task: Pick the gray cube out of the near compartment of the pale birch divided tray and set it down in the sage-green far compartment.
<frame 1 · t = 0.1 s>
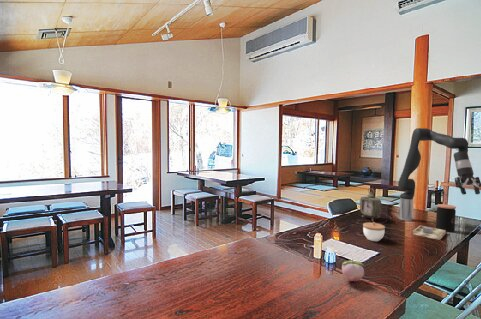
hand: (471, 194, 164), 31 cm above the table, tool tilted 20°, fingers open, 8 cm apart
tabletop clock: (370, 219, 223), on the table
coffee jar: (444, 231, 194), on the table
tray: (429, 234, 185), on the table
gray cube: (427, 235, 182), point 1 cm above the table, touching tray
decorative fruit: (351, 281, 122), on the table
lidded bowl: (373, 239, 175), on the table
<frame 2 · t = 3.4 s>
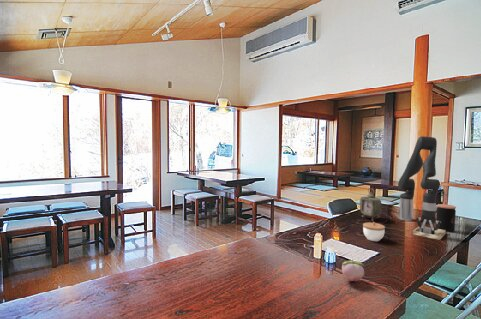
hand: (427, 234, 182), 1 cm above the table, tool pointing down, fingers closed on gray cube, 4 cm apart
gray cube: (427, 235, 182), point 1 cm above the table, touching gripper, tray
everything else where it was.
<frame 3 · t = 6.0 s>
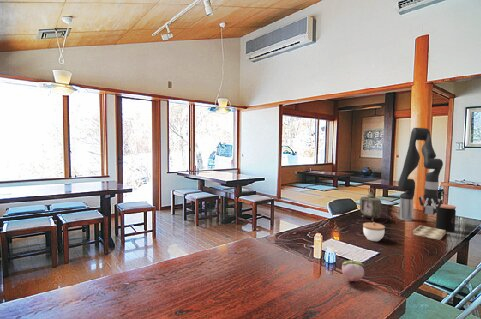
hand: (429, 212, 186), 15 cm above the table, tool pointing down, fingers closed on gray cube, 4 cm apart
gray cube: (429, 213, 186), point 14 cm above the table, touching gripper
everything else where it was.
when the fingers open (3 cm above the table, at t = 8.4 s): gray cube drops 1 cm, resting on tray.
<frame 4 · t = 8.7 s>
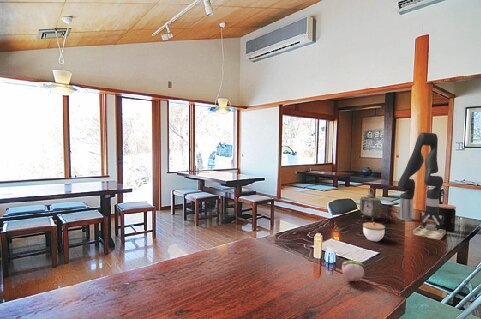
hand: (430, 228, 188), 3 cm above the table, tool pointing down, fingers open, 7 cm apart
gray cube: (430, 232, 188), point 1 cm above the table, touching tray
everything else where it was.
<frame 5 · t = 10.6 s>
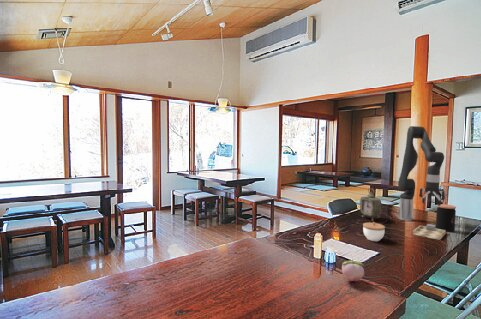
hand: (431, 204, 188), 20 cm above the table, tool pointing down, fingers open, 8 cm apart
nothing on the table moved.
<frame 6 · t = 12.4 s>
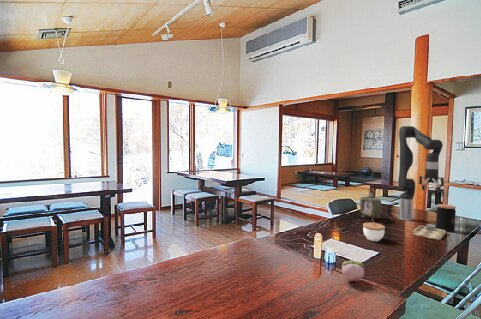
hand: (430, 191, 193), 28 cm above the table, tool pointing down, fingers open, 8 cm apart
nothing on the table moved.
at the end: gray cube inside the target area on the tray (0.2 cm from its centre), point 0.8 cm above the tray's base; the gripper is holding nothing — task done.
